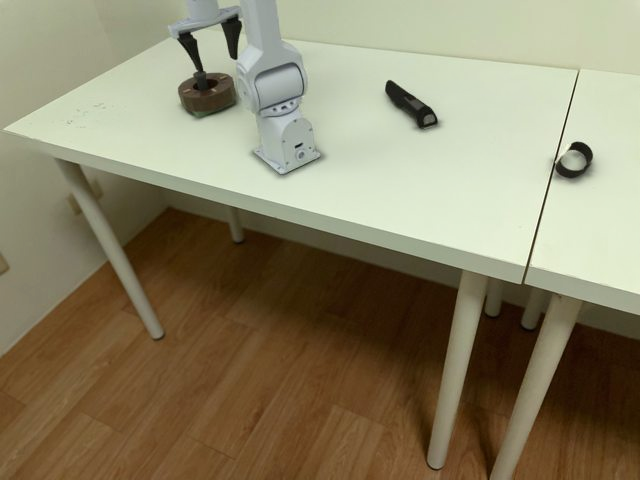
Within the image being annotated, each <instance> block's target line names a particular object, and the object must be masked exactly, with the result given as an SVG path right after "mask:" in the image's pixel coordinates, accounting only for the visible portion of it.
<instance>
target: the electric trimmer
mask: <svg viewBox="0 0 640 480" xmlns="http://www.w3.org/2000/svg"><path fill="white" fill-rule="evenodd" d="M384 92H385V93H386V95H387V96H388V98H389V99H390V100H391V101H392V102H393V104H394V105H395V106H396V107H397V108H401V109H404V110H405V111H406V112H407V113H408V114H409V115H410V116H412V118H414V119H415V120H416V123H417V126H418V127H419V128H421V129H423V130H426V129H429V128H433V127H436V126H437V124H438V123H439V122H438V121H439V120H438V116H437V114H436V113H435V111H434V109H433V108H432V107H431V106H429V105H427V104H426V103H425V102H423V101H422V100H420V99H419V98H417V97H416V96H414V95H413V94H412V93H411V92H408V91H407V90H406V89H404V88H403V87H402V86H400V85H399V84H397V83H396V82H395V81H393V80H392V79H388V80H387V81H386V82H385V87H384Z"/></svg>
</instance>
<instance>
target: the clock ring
mask: <svg viewBox="0 0 640 480" xmlns="http://www.w3.org/2000/svg"><path fill="white" fill-rule="evenodd" d="M206 74H207V76H206V80H207V84H208V87H209V90H204V91H199V89H198V85H197V82H196V79H195V78H194V77H193V76H192V77H189V78H187V79H186V80H184V81H182V82H181V83H180V84H179V85H178V87H177V94H178V97H179V100H180V103H181V106H182V107H183V108H184V109H185V110H187V111H189V112H191V111H194V112H206V111H211V110H216V109H219V108H221V107H224V106H226V105H228V104H229V103H231V102H232V101H233V102H234V100H235V99H236V97H237V90H236V85H235V82H234V78H233V76H231V75H229V74H228V73H224V72H206Z"/></svg>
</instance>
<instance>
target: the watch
mask: <svg viewBox="0 0 640 480" xmlns="http://www.w3.org/2000/svg"><path fill="white" fill-rule="evenodd" d="M569 151H576V152H578V153H580V154H582V156H584V158H585V161H586V164H585V165H584V167H583V168H581V169H578V170H575V169H569V168H567V167H566V166H564V164H563V163H562V159H563V158H564V157H565V156H566V154H567V153H568V152H569ZM593 152H594V151H593V150H592V149H591V147H590V146H589V145H588V144H587V143H585V142H583V141H574V142H572V143H567V144H566V145H565V146H564V148H563V149H562V151H561V152H560V154H559V155H558V156H557V158H556V160H555V161H554V164H555V172H556V173H557V174H558V175H559V176H560V177H563V178H565V179H576V178H578V177H580V176H581V175H584V174H585V172H586V171H587V170H588V168H590V166H591V165H592V161H593V158H594V153H593Z"/></svg>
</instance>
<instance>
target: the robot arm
mask: <svg viewBox="0 0 640 480" xmlns="http://www.w3.org/2000/svg"><path fill="white" fill-rule="evenodd" d="M184 2H185V5H186V9H187V13H188V17H186V18H183V19H182V20H180V21H176V22H175V23H172V24H170V25H167V30H168V33H169V37H170V38H172V39H173V40H176V41H177V42H178V43H179V44H180V45H181V46H182V48H183V49H184V51H185V52H186V53H187V55H188V56H189V58H190V60H191V61H192V63H193V66H194V67H195V70H196V72H197V71H199V72H204V71H205V70H204V66H203V63H202V60H201V56H200V51H199V46H198V39H196V38H195V37H194V35H193V34H192V33H195V32H198V31H200V30H204V29H208V28H210V27H214V26H216V25H220V26H221V28H222V31H223V34H224V38H225V41H226V47H227V51H228V54H229V57H230V59H231V60H233V61H235V71H236V87H237V91H238V95H239V97H240V100H241V102H242V104H243V106H244V107H245V109H247V110H248V111H250V112H251V113H252V114H254V116H255V120H256V126H257V129H258V135H259V141H260V144H261V145H260V146H259V147H256V148H254V150H253V153H254V154H255V155H256V156H258V157H259V159H261V160H262V161H264V162H265V163H266V164H268V166H270V167H271V168H272V169H273V170H275V171H276V172H277V173H278V174H280V175H285V174H287V173H289V172H292V171H293V170H295V169H297V168H299V167H301V166H304V165H307V164H308V163H310V162H312V161H314V160H317V159H318V158H320V157H321V153H320V152H319V151H317V150H316V146H315V145H316V143H315V136H314V129H313V125H312V123H311V122H310V120H309V119H308V118H307V117H306V116H305V115H304V114H303V112H302V110H301V107H300V105H301V104H303V102H304V101H303V97H304V96H306V95H307V93H308V92H307V91H308V89H309V88H308V87H309V79H308V74H307V70H306V69H305V66H304V62H303V55H302V53H301V52H300V51H299V50H298V48H297V47H295V46H294V45H293V44H291V43H289V42H287V41H285V40H283V39H282V36H281V35H282V34H281V29H280V28H281V27H280V21H279V20H280V19H279V13H278V6H277V5H278V4H277V0H239V4H240V5H239V4H236V5H231V6H227V7H221V8H220V6H219V1H218V0H184ZM240 19H242V20H243V22H242V20H240ZM243 27H244V32H245V37H246V42H247V44H246V46H245V47H244V49H243V50H242V52H241V53H240V55H238V54H239V41H240V36H241V32H242V29H243Z"/></svg>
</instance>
